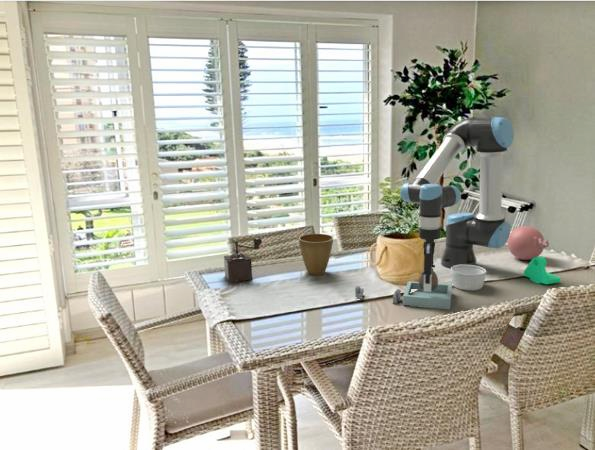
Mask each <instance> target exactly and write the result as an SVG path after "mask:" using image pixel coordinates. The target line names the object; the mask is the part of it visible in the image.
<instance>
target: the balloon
mask: <svg viewBox="0 0 595 450" xmlns="http://www.w3.org/2000/svg"><path fill="white" fill-rule="evenodd" d="M549 246H550V243H549V240H548V239H545V238H544V235H543V234H542V233H541V231H540V230H539V229H537V228H535V227H533V226H529V225H528V226H527V225H523V226H519V227H516V228H515V229H513V230H512V231H510V235H509V238H508V240H507V248H508V250H509V252H510V253H511V255H512V256H514V257H515V258H516V259H519V260H522V261H531V260H532V259H533V258H534V257H540V255H542V253H543V251H544V250H545V249H546V248H548V247H549Z"/></svg>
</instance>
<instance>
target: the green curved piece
mask: <svg viewBox="0 0 595 450" xmlns="http://www.w3.org/2000/svg"><path fill="white" fill-rule="evenodd" d="M546 266H547V259H546V258H545V256H543V255H542V256H538V257H534V258H533V259H531V260H530V262H529V264H527V266H526V268H525V269H524V271H523V276H525V277H527V278H529V280H530V282H533V283H536V284H537V285H538V284H540V285H541V284H544V285H549V284H550V285H551V284H557V283H561V277H560V276H557V275H555V274H552V273H551V272H548V271H546Z"/></svg>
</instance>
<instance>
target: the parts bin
mask: <svg viewBox="0 0 595 450" xmlns="http://www.w3.org/2000/svg"><path fill="white" fill-rule="evenodd" d="M411 289H418V291H416V292H412V293H410V292H411ZM452 294H453V283H452V284H451V283H440V282H438V285H437V288H436V289H435V290H434V291H433V292H425V291H423V290H422V289H421V288H420V286H419V281H410V280H409V281H407V284H406V286H405V289H404V292H403V295H402V306H404V305H412V306H411V307H416V306H422V307H421V308H427V307H431V308H430V309H441V310H451V303H452Z"/></svg>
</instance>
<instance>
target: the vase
mask: <svg viewBox="0 0 595 450" xmlns="http://www.w3.org/2000/svg"><path fill="white" fill-rule="evenodd" d="M423 272H424V270H422V271H421V273H420V275H419V277H418V282H419V286H420V288H421V289H422V290H424V275H422V273H423ZM431 273H432V284H431V292H433V291H434V290H435V289H436V288H437V285H438V283H439V279H438V275H437V273H436V272H435V270H434V268H433V269H431ZM425 292H426V291H425Z"/></svg>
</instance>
